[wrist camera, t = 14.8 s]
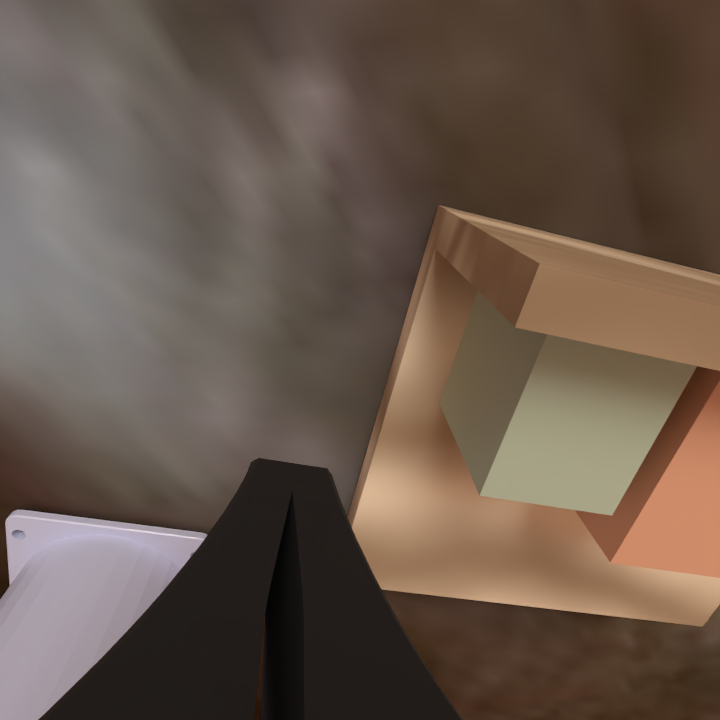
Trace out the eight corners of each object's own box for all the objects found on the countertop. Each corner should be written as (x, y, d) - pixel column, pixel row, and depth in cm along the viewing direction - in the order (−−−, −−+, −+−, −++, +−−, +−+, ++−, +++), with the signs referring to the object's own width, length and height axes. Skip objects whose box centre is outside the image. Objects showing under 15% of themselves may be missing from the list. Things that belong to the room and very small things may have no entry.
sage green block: (540, 421, 18) (612, 515, 14) (439, 403, 18) (479, 495, 13) (600, 287, 16) (709, 345, 12) (488, 261, 15) (556, 311, 11)
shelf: (686, 605, 25) (840, 803, 17) (334, 561, 22) (339, 777, 15) (891, 317, 19) (1268, 435, 11) (438, 205, 16) (539, 263, 8)
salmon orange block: (631, 476, 20) (724, 578, 15) (541, 461, 19) (610, 562, 14) (723, 316, 17) (870, 381, 12) (621, 292, 16) (737, 351, 12)
